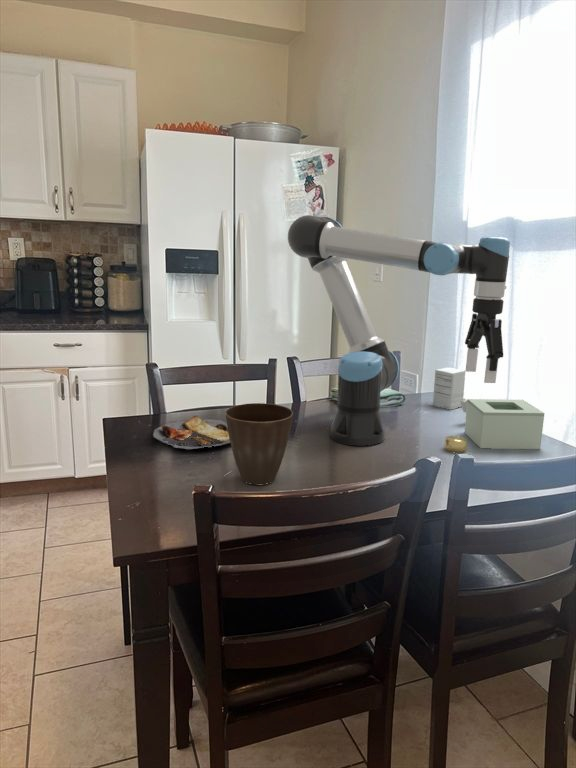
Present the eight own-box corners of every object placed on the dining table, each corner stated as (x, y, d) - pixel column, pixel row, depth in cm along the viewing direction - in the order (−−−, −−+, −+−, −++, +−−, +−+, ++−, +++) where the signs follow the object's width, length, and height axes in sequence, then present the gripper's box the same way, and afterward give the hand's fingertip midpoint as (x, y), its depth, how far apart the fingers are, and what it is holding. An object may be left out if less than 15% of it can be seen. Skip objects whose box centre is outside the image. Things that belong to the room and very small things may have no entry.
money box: (480, 448, 153) (483, 412, 151) (464, 432, 166) (467, 399, 164) (540, 449, 153) (544, 413, 151) (519, 432, 167) (523, 399, 164)
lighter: (475, 421, 178) (477, 396, 176) (479, 422, 176) (481, 397, 174) (458, 424, 174) (460, 398, 173) (462, 425, 173) (464, 400, 171)
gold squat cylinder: (447, 453, 149) (448, 442, 148) (441, 446, 155) (442, 435, 154) (469, 453, 149) (470, 442, 148) (462, 446, 155) (463, 436, 154)
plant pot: (293, 468, 137) (294, 404, 133) (289, 494, 122) (291, 422, 119) (231, 466, 138) (231, 402, 134) (220, 491, 123) (219, 420, 120)
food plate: (137, 436, 159) (137, 424, 158) (205, 420, 175) (205, 409, 174) (191, 462, 142) (191, 448, 141) (260, 442, 158) (260, 430, 157)
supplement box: (444, 402, 200) (447, 366, 197) (463, 406, 194) (466, 370, 191) (431, 405, 195) (434, 369, 192) (450, 410, 190) (453, 373, 187)
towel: (327, 398, 204) (328, 384, 203) (380, 394, 212) (380, 380, 210) (350, 411, 188) (351, 396, 186) (406, 406, 195) (407, 392, 194)
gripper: (524, 303, 138) (513, 388, 143) (484, 294, 163) (476, 367, 168) (493, 302, 138) (484, 387, 143) (458, 293, 162) (450, 366, 167)
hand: (479, 377), depth 155 cm, fingers open, 13 cm apart
